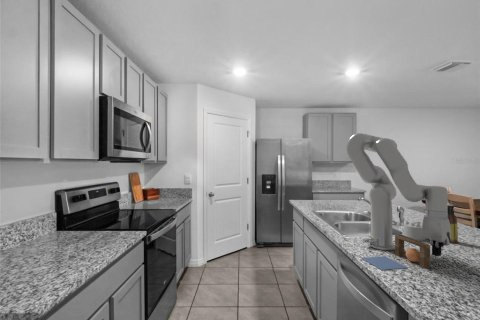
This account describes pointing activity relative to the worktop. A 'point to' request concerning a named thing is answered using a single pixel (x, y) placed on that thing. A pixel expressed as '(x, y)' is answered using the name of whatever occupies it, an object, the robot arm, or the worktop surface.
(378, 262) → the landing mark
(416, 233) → the lumpy-topped squat cylinder
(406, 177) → the robot arm
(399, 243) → the bridge
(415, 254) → the ball
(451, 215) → the sauce bottle
